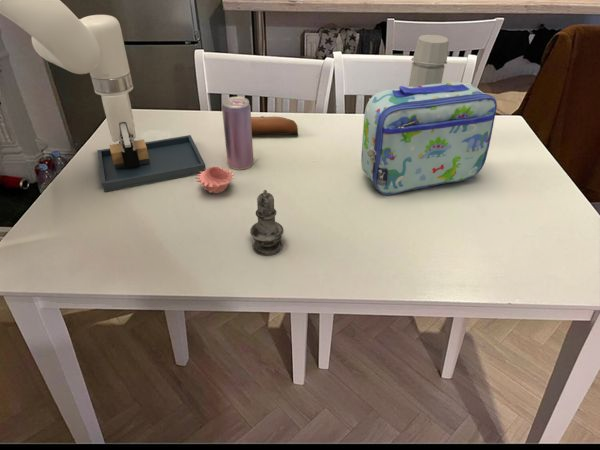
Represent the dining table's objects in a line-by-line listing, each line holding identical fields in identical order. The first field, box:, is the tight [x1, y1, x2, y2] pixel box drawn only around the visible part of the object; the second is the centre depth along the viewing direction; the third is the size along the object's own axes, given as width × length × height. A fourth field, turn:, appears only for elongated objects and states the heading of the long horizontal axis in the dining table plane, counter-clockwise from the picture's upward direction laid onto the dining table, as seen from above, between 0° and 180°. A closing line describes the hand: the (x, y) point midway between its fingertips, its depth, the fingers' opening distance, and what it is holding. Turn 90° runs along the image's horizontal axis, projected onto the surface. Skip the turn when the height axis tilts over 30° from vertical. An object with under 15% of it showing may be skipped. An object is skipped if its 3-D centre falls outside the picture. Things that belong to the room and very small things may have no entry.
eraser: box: [109, 139, 150, 169], centre depth 104 cm, size 8×4×4 cm, turn 113°
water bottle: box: [408, 34, 450, 87], centre depth 109 cm, size 9×8×25 cm
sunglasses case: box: [251, 115, 299, 136], centre depth 119 cm, size 18×7×7 cm
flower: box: [194, 166, 235, 194], centre depth 96 cm, size 8×8×6 cm
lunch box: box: [360, 82, 498, 196], centre depth 95 cm, size 26×11×21 cm, turn 104°
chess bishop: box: [249, 189, 284, 257], centre depth 80 cm, size 6×6×12 cm
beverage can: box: [221, 96, 255, 171], centre depth 102 cm, size 6×6×15 cm
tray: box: [96, 134, 207, 193], centre depth 105 cm, size 22×16×2 cm
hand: (131, 160), depth 105 cm, fingers closed on eraser, 4 cm apart
